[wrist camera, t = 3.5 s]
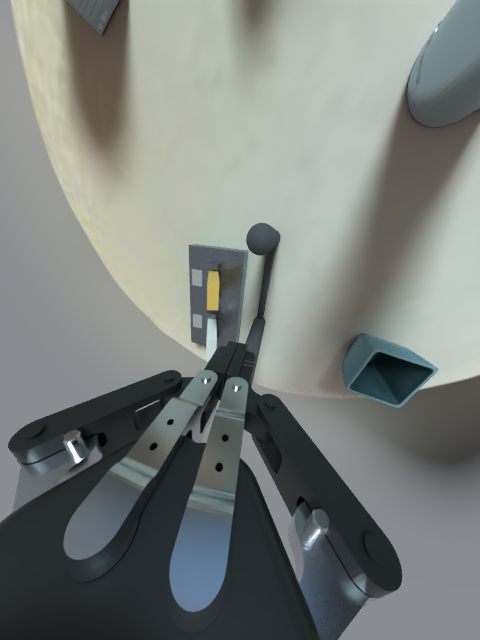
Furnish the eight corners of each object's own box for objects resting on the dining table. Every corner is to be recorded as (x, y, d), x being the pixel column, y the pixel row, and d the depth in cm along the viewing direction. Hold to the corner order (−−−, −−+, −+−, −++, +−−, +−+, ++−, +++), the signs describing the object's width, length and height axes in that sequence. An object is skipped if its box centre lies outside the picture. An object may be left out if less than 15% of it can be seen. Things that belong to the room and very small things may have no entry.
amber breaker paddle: (218, 270, 31) (219, 283, 24) (217, 292, 33) (218, 310, 26) (208, 270, 31) (207, 282, 24) (208, 292, 33) (206, 310, 26)
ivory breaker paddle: (216, 317, 35) (216, 339, 28) (215, 335, 37) (215, 360, 30) (207, 317, 35) (206, 339, 28) (207, 334, 37) (206, 360, 30)
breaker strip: (248, 250, 32) (242, 253, 28) (238, 343, 41) (232, 356, 37) (196, 244, 34) (183, 245, 29) (197, 335, 43) (187, 346, 38)
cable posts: (281, 230, 30) (278, 224, 14) (264, 327, 38) (249, 393, 22) (267, 229, 30) (248, 221, 14) (253, 325, 38) (231, 389, 22)
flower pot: (331, 357, 37) (344, 390, 29) (354, 321, 33) (375, 348, 25) (374, 371, 37) (399, 409, 29) (402, 336, 33) (440, 369, 25)
